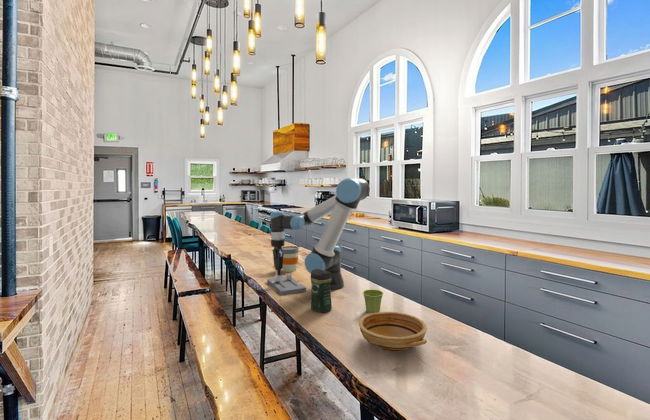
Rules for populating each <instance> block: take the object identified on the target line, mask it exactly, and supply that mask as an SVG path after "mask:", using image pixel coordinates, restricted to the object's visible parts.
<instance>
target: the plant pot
mask: <svg viewBox="0 0 650 420" xmlns="http://www.w3.org/2000/svg"><path fill="white" fill-rule="evenodd" d="M362 294H363V298H364V304H365V312H367V314H369V313H371V314H372V313H377V312H381V311H380V310H381V304H382V298H383V295H384V292H383V291H382V290H379V289H365V290H363V291H362Z"/></svg>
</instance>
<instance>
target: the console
mask: <svg viewBox="0 0 650 420" xmlns="http://www.w3.org/2000/svg"><path fill="white" fill-rule="evenodd" d="M266 283H268V284H269V286H271V288H273V289H274V290H276V292H277V293H278V294H280V295H281V296H284V295H291V294H297V293H298V294H299V293H303V292H307V287H306V286H305V285H303V284H302V283H300V282H299V281H298V280H296V279H295V278H293V277H292V280H286V276H281V282H275V277H272V278H267V279H266Z"/></svg>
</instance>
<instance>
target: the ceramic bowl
mask: <svg viewBox="0 0 650 420" xmlns="http://www.w3.org/2000/svg"><path fill="white" fill-rule="evenodd" d="M358 327H359V330H360V333H361V335H362V337H363V338H364V339H365V340H366V342H368V343H369V344H371V345H373V346H375V347H377V348H379V350H381V351H384V352H388V353H401V352H404V351H406V350H408V349H411V348H412V349H413V348H414V347H415V348H416V347H420V346H422V345H426V343H427V342H428V341H427V339H426V338H425V335H426V333H427V330H428V326H427V324H426V323H425V321H424V320H422V319H420V318H419V317H416V316H415V315H411V314H407V313H402V312H398V311H397V312H396V311H395V312H394V311H380V312H377V313H365V314H364V315H362V317H361V318H360V319H359V321H358Z"/></svg>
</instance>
